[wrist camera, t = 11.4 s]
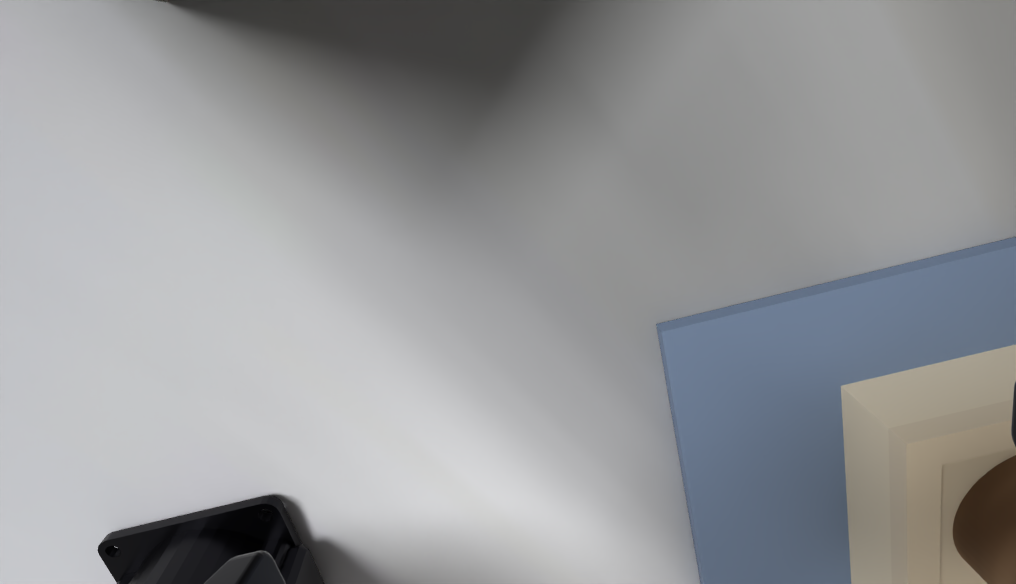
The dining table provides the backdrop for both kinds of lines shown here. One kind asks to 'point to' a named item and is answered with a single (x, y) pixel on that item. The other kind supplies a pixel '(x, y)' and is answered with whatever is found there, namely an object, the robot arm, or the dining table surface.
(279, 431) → the dining table surface
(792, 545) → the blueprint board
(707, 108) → the dining table surface
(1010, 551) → the walnut column
